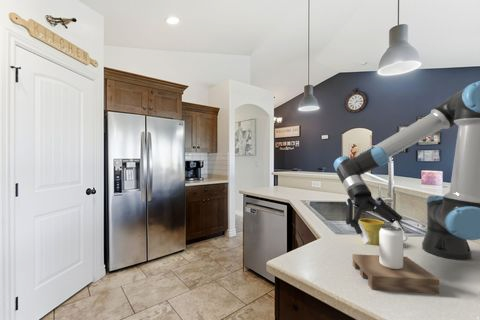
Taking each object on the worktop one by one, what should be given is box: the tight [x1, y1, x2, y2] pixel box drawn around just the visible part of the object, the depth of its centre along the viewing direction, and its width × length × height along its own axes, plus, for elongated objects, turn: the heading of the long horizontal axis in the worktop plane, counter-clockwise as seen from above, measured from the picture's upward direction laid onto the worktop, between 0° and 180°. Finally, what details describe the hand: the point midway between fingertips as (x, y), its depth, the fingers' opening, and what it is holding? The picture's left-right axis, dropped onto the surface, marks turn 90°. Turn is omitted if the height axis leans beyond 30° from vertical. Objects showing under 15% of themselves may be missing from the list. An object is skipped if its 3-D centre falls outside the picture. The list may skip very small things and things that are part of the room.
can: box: [378, 224, 404, 269], centre depth 76 cm, size 6×6×12 cm
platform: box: [352, 253, 441, 294], centre depth 76 cm, size 18×16×4 cm
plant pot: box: [358, 218, 385, 246], centre depth 108 cm, size 10×10×10 cm
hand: (386, 241), depth 77 cm, fingers open, 13 cm apart
